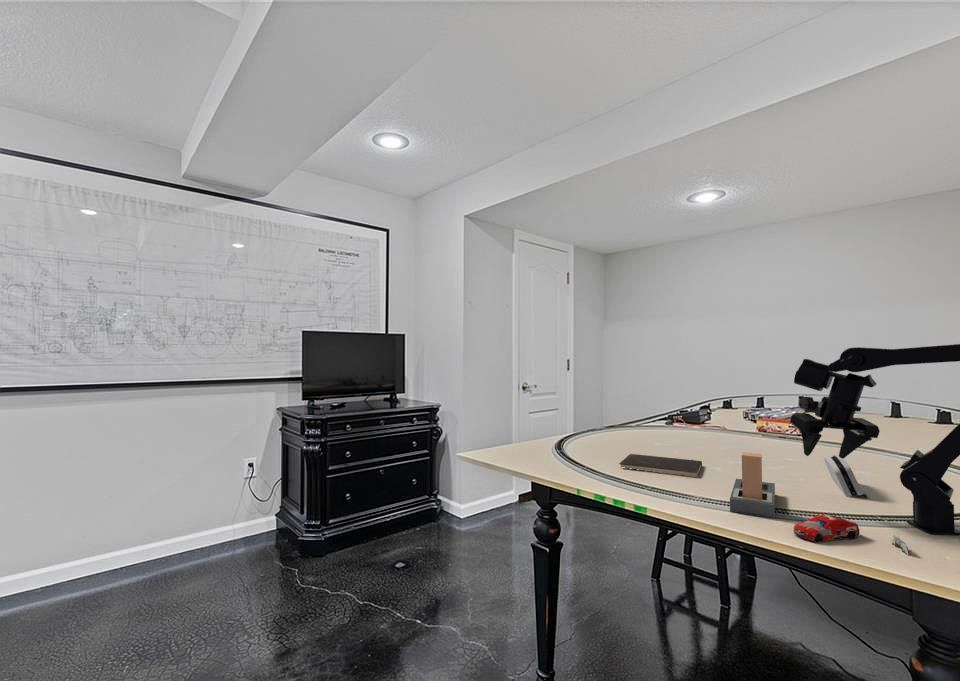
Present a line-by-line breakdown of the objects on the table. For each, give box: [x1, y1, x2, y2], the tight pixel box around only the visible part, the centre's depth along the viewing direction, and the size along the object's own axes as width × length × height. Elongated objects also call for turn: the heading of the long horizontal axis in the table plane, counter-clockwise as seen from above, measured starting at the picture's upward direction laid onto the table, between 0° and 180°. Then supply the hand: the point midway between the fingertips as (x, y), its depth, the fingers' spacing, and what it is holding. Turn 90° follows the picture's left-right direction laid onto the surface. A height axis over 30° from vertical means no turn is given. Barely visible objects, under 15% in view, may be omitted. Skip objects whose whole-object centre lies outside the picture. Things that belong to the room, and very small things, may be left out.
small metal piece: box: [890, 534, 912, 556], centre depth 89 cm, size 6×2×3 cm, turn 160°
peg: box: [741, 451, 763, 500], centre depth 113 cm, size 4×4×13 cm
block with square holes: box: [729, 478, 776, 519], centre depth 117 cm, size 20×9×3 cm, turn 147°
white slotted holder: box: [823, 454, 871, 500], centre depth 127 cm, size 17×5×10 cm, turn 152°
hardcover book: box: [618, 453, 703, 478], centre depth 152 cm, size 16×23×2 cm
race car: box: [793, 514, 861, 543], centre depth 96 cm, size 13×5×4 cm, turn 99°
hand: (823, 456), depth 115 cm, fingers open, 9 cm apart
